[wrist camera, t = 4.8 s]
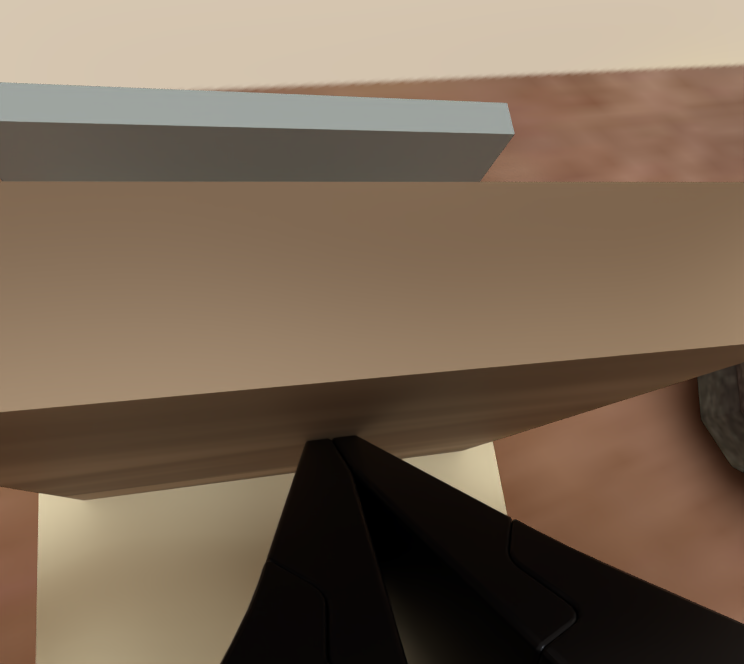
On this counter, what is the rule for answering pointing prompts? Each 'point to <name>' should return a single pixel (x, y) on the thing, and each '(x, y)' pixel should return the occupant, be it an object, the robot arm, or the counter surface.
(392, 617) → the robot arm
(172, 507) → the board
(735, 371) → the mortar and pestle
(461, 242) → the bookend block
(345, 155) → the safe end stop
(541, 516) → the counter surface
